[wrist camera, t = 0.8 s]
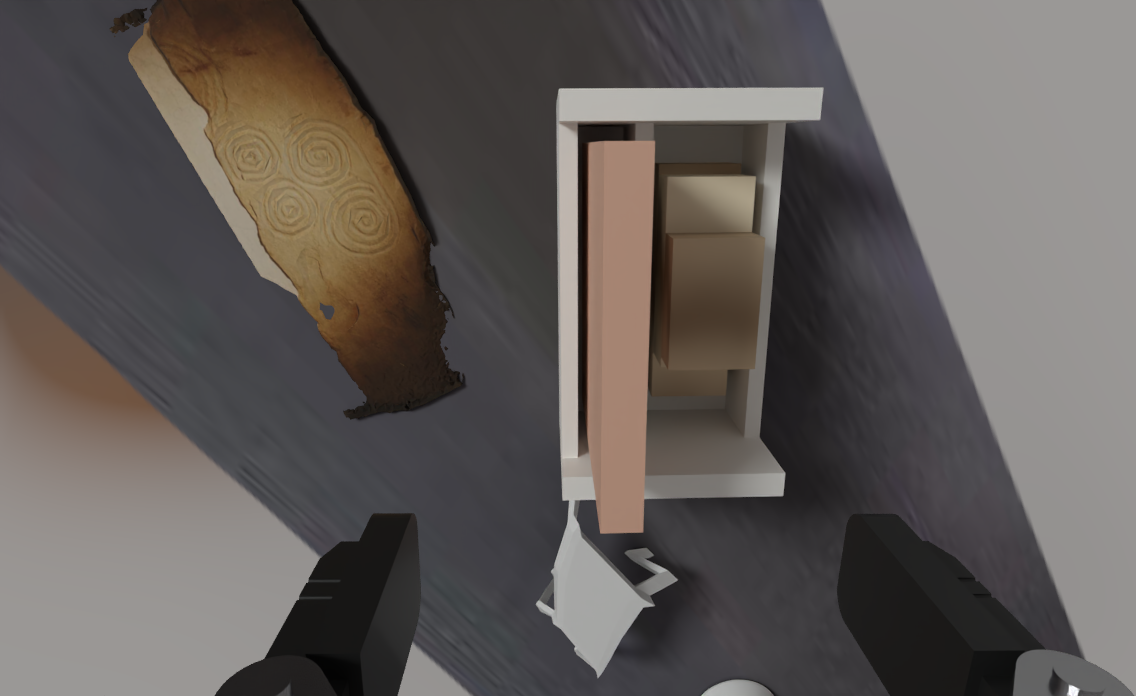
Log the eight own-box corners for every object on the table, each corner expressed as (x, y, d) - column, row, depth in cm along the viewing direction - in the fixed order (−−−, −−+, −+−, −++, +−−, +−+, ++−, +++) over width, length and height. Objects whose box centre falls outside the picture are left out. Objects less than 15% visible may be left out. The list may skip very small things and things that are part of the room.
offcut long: (651, 162, 35) (659, 164, 32) (728, 162, 35) (741, 163, 32) (645, 380, 38) (651, 396, 36) (714, 379, 38) (726, 395, 36)
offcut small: (665, 233, 31) (673, 238, 29) (751, 232, 31) (765, 237, 29) (661, 357, 33) (668, 370, 31) (742, 355, 33) (755, 369, 31)
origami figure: (687, 591, 44) (704, 645, 39) (569, 636, 44) (572, 695, 40) (617, 438, 40) (626, 476, 36) (491, 489, 41) (484, 534, 36)
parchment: (103, 13, 33) (91, 10, 32) (274, -79, 32) (267, -85, 31) (355, 429, 40) (351, 435, 39) (502, 365, 39) (500, 370, 38)
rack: (556, 102, 35) (559, 88, 26) (755, 102, 35) (823, 87, 26) (559, 423, 40) (562, 500, 31) (732, 421, 40) (783, 496, 32)
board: (582, 143, 34) (604, 140, 21) (613, 142, 34) (655, 140, 21) (582, 398, 38) (600, 533, 25) (609, 397, 38) (643, 532, 25)
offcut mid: (659, 174, 32) (667, 176, 30) (740, 174, 33) (755, 176, 30) (653, 352, 35) (660, 367, 33) (728, 350, 35) (742, 365, 33)
